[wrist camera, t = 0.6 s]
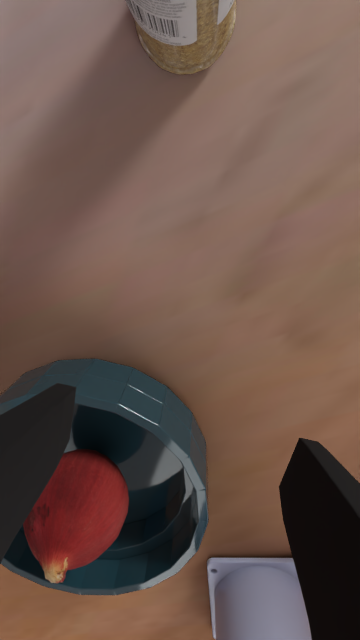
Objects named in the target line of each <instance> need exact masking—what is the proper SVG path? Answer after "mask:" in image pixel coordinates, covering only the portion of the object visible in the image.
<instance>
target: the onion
mask: <svg viewBox="0 0 360 640" xmlns="http://www.w3.org/2000/svg"><path fill="white" fill-rule="evenodd" d="M128 505H129V496H128V487H127V484H126V481H125V478H124V477H123V475H122V473H121V471H120V469H119V468H118V466H117V465H116V464H115V463H114V462H113V461H112V460H110V459H109V458H108V457H107V456H105V455H103V454H101V453H99V452H98V451H96V450H89V449H77V450H73V451H70V452H66V453H64V454H63V456H62V458H61V460H60V462H59V464H58V466H57V468H56V470H55V472H54V474H53V475H52V477H51V479H50V480H49V482H48V484H47V485H46V487H45V489H44V490H43V492H42V494H41V495H40V497H39V498H38V500H37V502H36V503H35V505H34V507H33V508H32V510H31V512H30V513H29V515H28V517H27V518H26V520H25V521H24V523H23V527H24V532H25V536H26V539H27V542H28V545H29V547H30V550H31V552H32V554H33V555H34V556H35V558H36V559H37V560H38V561H39V563H40V565H41V567H42V569H43V570H44V574H45V578H46V579H47V580H49V581H50V582H51V583H59V582H63V581H64V579H65V573H66V571H67V570H72V569H75V568H79V567H82V566H85V565H87V564H89V563H91V562H93V561H94V560H96V559H97V558H98V557H99V556H100V555H101V554H102V553H103V552H104V551H105V550H107V549H108V548H109V547H110V546H111V545H112V544H113V542H114V541H115V540H116V538H117V537H118V535H119V533H120V530H121V528H122V526H123V523H124V521H125V518H126V515H127V513H128Z"/></svg>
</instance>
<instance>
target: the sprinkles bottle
mask: <svg viewBox="0 0 360 640" xmlns="http://www.w3.org/2000/svg"><path fill="white" fill-rule="evenodd" d="M125 1H126V4H127V6H128V8H129V10H130V12H131V13H132V15H133V17H134V19H135V24H136V30H137V34H138V37H139V40H140V42H141V44H142V46H143V48H144V50H145V51H146V52H147V54H148V55H149V57H150V58H151V59H152V60H153V61H154V62H155V63H156V64H157V65H158V66H159V67H161V68H162V69H164V70H167V71H169V72H171V73H175V74H194V73H196V72H199V71H201V70H204V69H206V68H208V67H210V66H211V65H212V64H213V63H214V62H215V61H216V60H217V59H218V58H219V57H220V55H221V54H222V53H223V51H224V49H225V47H226V45H227V44H228V42H229V40H230V38H231V35H232V33H233V29H234V25H235V16H236V0H125Z"/></svg>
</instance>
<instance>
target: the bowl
mask: <svg viewBox="0 0 360 640" xmlns="http://www.w3.org/2000/svg"><path fill="white" fill-rule="evenodd" d="M56 383H60V384H65V385H69V386H73V387H76V394H75V402H74V410H73V417H72V425H71V433H70V440H69V442H68V444H67V447H66V449H65V451H64V453H66V452H70V451H73V450H77V449H89V450H96V451H98V452H99V453H101V454H103V455H105V456H107V457H108V458H109V459H110V460H112V461H113V462H114V463H115V464H116V465H117V466H118V468H119V469H120V471H121V473H122V475H123V477H124V478H125V481H126V484H127V487H128V496H129V505H128V513H127V515H126V518H125V521H124V523H123V526H122V528H121V530H120V533H119V535H118V537H117V538H116V540H115V541H114V542H113V544H112V545H111V546H110V547H109V548H108V549H107V550H105V551H104V552H103V553H102V554H101V555H100V556H99V557H98V558H97V559H96V560H94V561H93V562H91V563H89V564H87V565H85V566H82V567H79V568H75V569H72V570H67V571H66V573H65V579H64V581H63V582H59V583H51V582H50V581H49V580H47V579H46V578H45V574H44V570H43V569H42V567H41V565H40V563H39V561H38V560H37V559H36V558H35V556H34V555H33V554H32V552H31V550H30V547H29V545H28V542H27V539H26V536H25V532H24V527H23V525H22V526H21V528H20V530H19V531H18V533H17V535H16V536H15V538H14V540H13V541H12V543H11V545H10V547H9V549H8V550H7V552H6V554H5V556H4V558H3V560H2V562H1V564H2V565H3V566H5V567H6V568H7V569H9V570H10V571H12V572H14V573H16V574H18V575H20V576H22V577H24V578H27V579H29V580H31V581H33V582H35V583H38V584H40V585H42V586H45V587H48V588H53V589H57V590H61V591H66V592H70V593H75V594H79V595H80V594H81V595H120V594H124V593H129V592H133V591H138V590H142V589H147V588H150V587H152V586H154V585H156V584H158V583H160V582H162V581H163V580H165V579H167V578H169V577H171V576H173V575H175V574H177V573H178V572H179V571H180V570H181V569H182V567H183V566H184V565H185V564H186V563H187V562H188V561H189V560H190V559H191V558H192V557H193V555H194V554H195V553H196V552H197V551H198V549H199V547H200V544H201V541H202V538H203V535H204V533H205V530H206V527H207V524H208V520H209V519H208V467H207V453H206V442H205V439H204V437H203V435H202V433H201V431H200V428H199V426H198V424H197V422H196V420H195V418H194V416H193V414H192V412H191V411H190V410H189V409H188V408H187V407H186V406H185V405H184V404H183V403H182V402H181V401H180V400H179V398H178V397H177V396H176V395H175V394H174V393H173V392H172V391H171V390H170V389H169V388H168V387H167V386H165V385H164V384H162V383H160V382H158V381H156V380H155V379H153V378H151V377H149V376H148V375H146V374H144V373H142V372H140V371H139V370H137V369H135V368H133V367H129V366H125V365H121V364H116V363H112V362H108V361H104V360H100V359H75V360H58V361H55V362H52V363H50V364H47V365H44V366H42V367H39V368H36V369H34V370H31V371H29V372H26V373H25V374H23V375H22V376H21V377H20V378H19V379H17V380H16V381H15V382H14V383H13V384H12V385H11V386H9V387H8V388H7V389H6V390H5V391H4V392H3V393H2V394H1V395H0V415H1V414H3V413H5V412H7V411H9V410H10V409H12V408H14V407H16V406H18V405H19V404H21V403H23V402H25V401H27V400H28V399H30V398H32V397H34V396H35V395H37V394H39V393H40V392H42V391H44V390H46V389H47V388H49V387H51V386H53V385H55V384H56ZM64 453H63V454H64Z"/></svg>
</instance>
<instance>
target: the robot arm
mask: <svg viewBox="0 0 360 640" xmlns="http://www.w3.org/2000/svg"><path fill="white" fill-rule="evenodd" d="M75 394H76V387H73V386H69V385H65V384H60V383H56V384H55V385H53V386H51V387H49V388H47V389H46V390H44V391H42V392H40V393H39V394H37V395H35V396H34V397H32V398H30V399H28V400H27V401H25V402H23V403H21V404H19V405H18V406H16V407H14V408H12V409H10V410H9V411H7V412H5V413H3V414H1V415H0V564H1V562H2V560H3V558H4V556H5V554H6V552H7V550H8V549H9V547H10V545H11V543H12V541H13V540H14V538H15V536H16V535H17V533H18V531H19V530H20V528H21V526H22V525H23V523H24V521H25V520H26V518H27V517H28V515H29V513H30V512H31V510H32V508H33V507H34V505H35V503H36V502H37V500H38V498H39V497H40V495H41V494H42V492H43V490H44V489H45V487H46V485H47V484H48V482H49V480H50V479H51V477H52V475H53V474H54V472H55V470H56V468H57V466H58V464H59V462H60V460H61V458H62V456H63V453H64V451H65V449H66V447H67V444H68V442H69V440H70V433H71V425H72V417H73V410H74V402H75ZM279 490H280V499H281V507H282V514H283V521H284V525H285V529H286V533H287V537H288V541H289V545H290V549H291V553H292V557H293V558H210V559H208V560H207V572H208V584H209V596H210V608H211V620H212V632H213V637H214V638H215V639H216V640H360V483H359V482H358V481H357V480H356V479H355V478H354V477H353V476H352V475H351V474H350V473H349V472H348V471H347V470H346V469H345V468H344V467H343V466H342V465H341V464H340V463H339V462H338V461H337V460H336V459H335V457H334V456H333V455H332V454H331V453H330V452H329V451H328V450H327V449H326V448H324V447H323V446H322V445H321V444H320V443H319V442H317V441H312V440H308V439H303V438H299V440H298V442H297V445H296V447H295V450H294V452H293V454H292V457H291V459H290V462H289V464H288V466H287V469H286V471H285V474H284V476H283V478H282V481H281V483H280V486H279Z"/></svg>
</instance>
